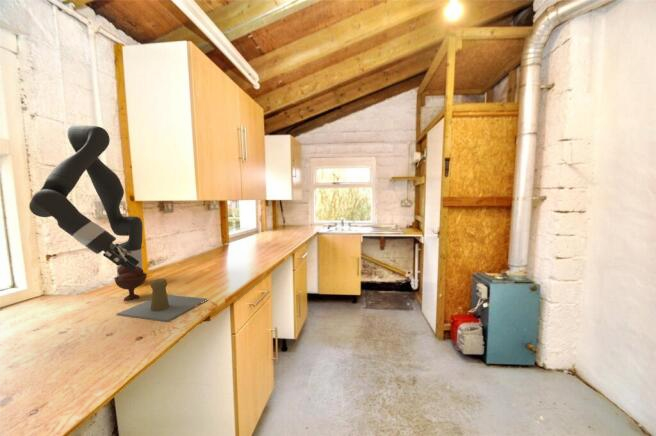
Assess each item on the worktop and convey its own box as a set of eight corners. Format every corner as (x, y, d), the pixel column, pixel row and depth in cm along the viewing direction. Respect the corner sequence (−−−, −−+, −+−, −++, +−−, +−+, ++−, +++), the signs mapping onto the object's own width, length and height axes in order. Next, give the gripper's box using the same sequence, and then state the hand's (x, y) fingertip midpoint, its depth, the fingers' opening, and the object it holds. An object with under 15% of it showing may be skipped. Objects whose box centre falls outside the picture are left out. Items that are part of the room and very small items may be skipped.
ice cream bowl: (131, 304, 103) (129, 267, 102) (108, 302, 105) (106, 265, 104) (153, 295, 114) (152, 260, 113) (132, 293, 116) (131, 259, 115)
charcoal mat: (116, 315, 94) (116, 313, 94) (163, 295, 113) (163, 294, 113) (168, 321, 89) (168, 320, 89) (207, 300, 108) (207, 298, 108)
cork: (167, 303, 103) (166, 276, 102) (171, 308, 98) (170, 279, 98) (148, 307, 99) (147, 279, 98) (152, 312, 94) (150, 282, 93)
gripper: (99, 232, 86) (142, 263, 93) (109, 227, 99) (146, 255, 105) (78, 249, 84) (123, 279, 91) (90, 242, 96) (130, 269, 103)
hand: (135, 266), depth 98 cm, fingers open, 8 cm apart
